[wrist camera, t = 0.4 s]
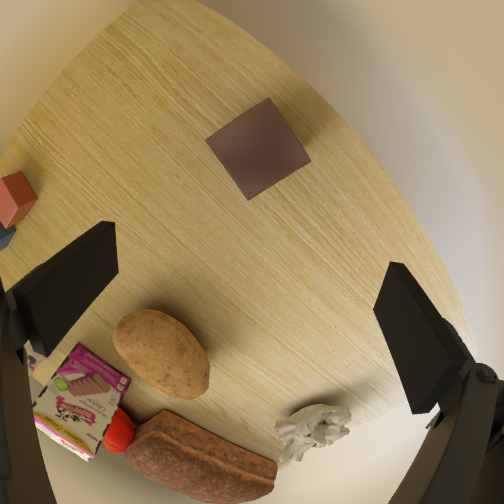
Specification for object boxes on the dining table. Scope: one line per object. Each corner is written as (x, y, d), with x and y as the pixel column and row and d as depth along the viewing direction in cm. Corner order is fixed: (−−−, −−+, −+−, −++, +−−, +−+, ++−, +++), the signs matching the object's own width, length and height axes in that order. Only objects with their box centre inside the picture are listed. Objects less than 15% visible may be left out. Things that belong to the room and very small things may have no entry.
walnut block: (223, 135, 28) (204, 140, 20) (270, 104, 26) (268, 97, 19) (255, 180, 29) (247, 201, 22) (302, 151, 28) (311, 161, 21)
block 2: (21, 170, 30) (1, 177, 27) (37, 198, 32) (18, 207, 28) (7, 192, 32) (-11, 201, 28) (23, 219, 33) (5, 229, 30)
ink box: (41, 360, 46) (5, 410, 32) (24, 342, 44) (-15, 390, 31) (53, 345, 43) (11, 401, 30) (34, 326, 42) (-11, 379, 28)
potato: (185, 377, 42) (172, 418, 35) (116, 312, 38) (90, 349, 31) (235, 353, 39) (226, 399, 32) (161, 278, 35) (135, 317, 28)
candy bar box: (133, 378, 44) (96, 457, 29) (123, 390, 45) (89, 463, 30) (77, 339, 41) (27, 411, 26) (71, 354, 43) (26, 421, 28)
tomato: (150, 411, 47) (136, 448, 39) (137, 434, 52) (125, 465, 44) (84, 376, 45) (64, 409, 37) (80, 404, 50) (64, 433, 42)
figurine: (274, 470, 36) (351, 466, 31) (266, 411, 41) (344, 402, 36) (295, 456, 43) (362, 450, 38) (289, 405, 48) (356, 395, 42)
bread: (232, 478, 58) (227, 516, 48) (126, 427, 51) (109, 468, 41) (283, 461, 52) (281, 507, 42) (164, 402, 46) (145, 455, 35)
